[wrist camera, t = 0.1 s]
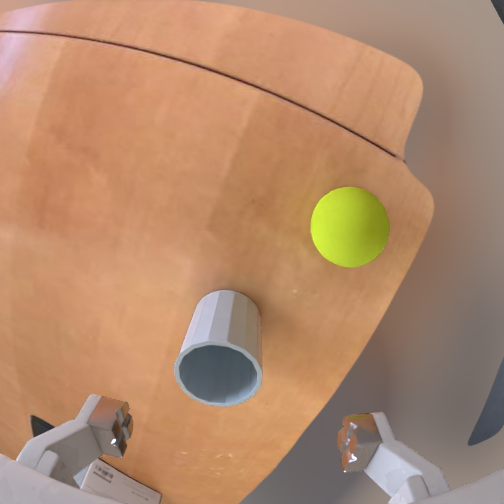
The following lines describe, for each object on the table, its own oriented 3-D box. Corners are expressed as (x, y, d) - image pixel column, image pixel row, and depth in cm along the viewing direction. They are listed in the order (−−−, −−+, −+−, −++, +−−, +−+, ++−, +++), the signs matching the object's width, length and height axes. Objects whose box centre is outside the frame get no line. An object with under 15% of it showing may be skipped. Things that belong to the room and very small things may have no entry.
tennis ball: (308, 179, 27) (323, 187, 21) (376, 187, 27) (408, 197, 21) (301, 251, 29) (313, 277, 23) (367, 255, 29) (394, 280, 23)
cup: (193, 287, 30) (171, 337, 22) (263, 291, 30) (265, 344, 22) (194, 344, 32) (177, 402, 24) (258, 349, 32) (259, 409, 24)
